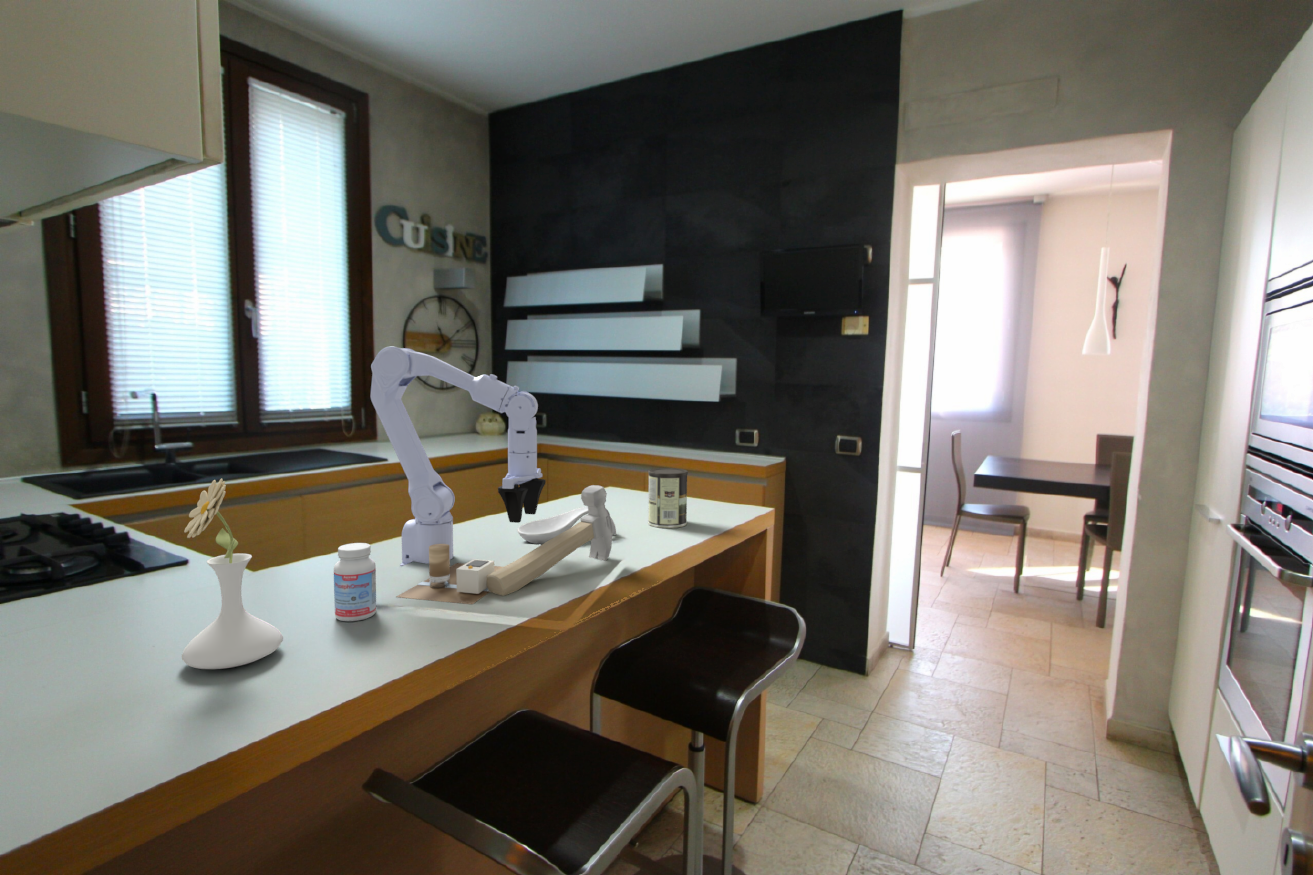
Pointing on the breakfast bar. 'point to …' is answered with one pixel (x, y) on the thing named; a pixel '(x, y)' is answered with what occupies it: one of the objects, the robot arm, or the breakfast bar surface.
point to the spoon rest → (553, 526)
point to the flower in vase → (227, 601)
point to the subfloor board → (444, 590)
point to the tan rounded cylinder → (439, 565)
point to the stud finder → (474, 576)
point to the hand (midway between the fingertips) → (522, 517)
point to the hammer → (560, 546)
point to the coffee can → (667, 497)
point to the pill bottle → (354, 583)
